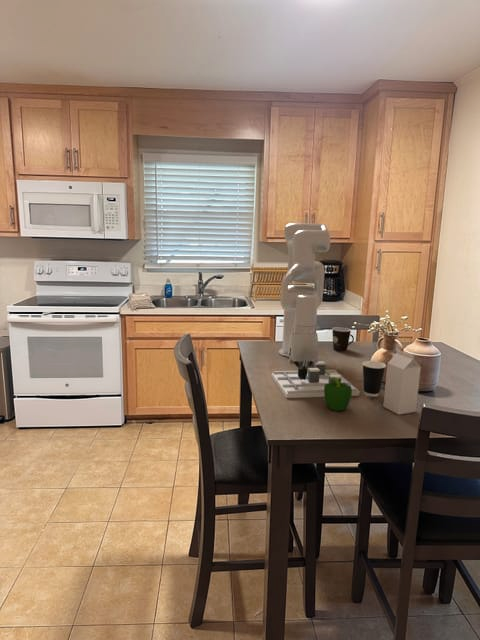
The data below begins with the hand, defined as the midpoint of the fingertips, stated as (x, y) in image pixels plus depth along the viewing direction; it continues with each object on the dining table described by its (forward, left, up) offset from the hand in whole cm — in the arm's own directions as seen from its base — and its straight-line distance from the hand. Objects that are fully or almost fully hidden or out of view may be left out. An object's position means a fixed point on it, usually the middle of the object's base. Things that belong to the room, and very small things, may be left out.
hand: (302, 378), depth 164 cm
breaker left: (-8, +9, -1) cm, 12 cm away
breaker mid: (0, +4, -1) cm, 4 cm away
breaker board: (0, +4, -3) cm, 5 cm away
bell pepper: (+21, +5, -3) cm, 22 cm away
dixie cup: (+10, +22, -3) cm, 25 cm away
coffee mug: (-46, +33, -3) cm, 57 cm away
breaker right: (+8, +9, -1) cm, 12 cm away
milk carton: (+24, +25, -3) cm, 35 cm away
